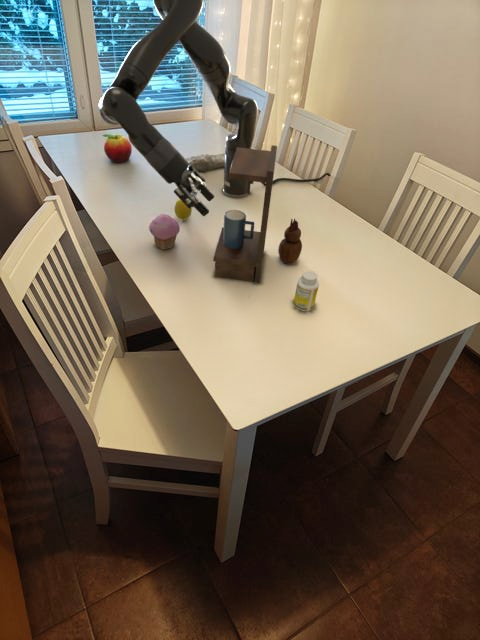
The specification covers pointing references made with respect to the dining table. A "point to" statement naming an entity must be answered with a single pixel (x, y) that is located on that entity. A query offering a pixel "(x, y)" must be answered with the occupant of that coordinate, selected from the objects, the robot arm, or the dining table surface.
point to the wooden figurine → (290, 244)
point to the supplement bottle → (306, 291)
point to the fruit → (117, 147)
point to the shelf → (250, 255)
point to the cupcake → (164, 231)
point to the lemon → (182, 210)
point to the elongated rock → (206, 161)
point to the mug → (235, 229)
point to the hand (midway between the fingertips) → (209, 206)
